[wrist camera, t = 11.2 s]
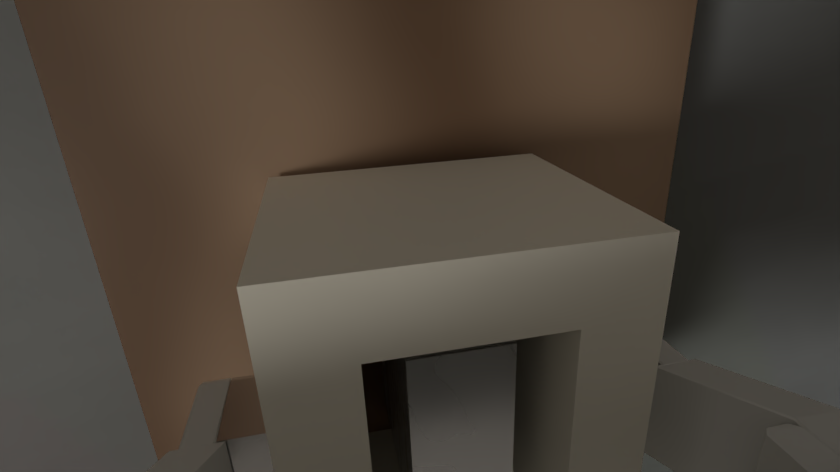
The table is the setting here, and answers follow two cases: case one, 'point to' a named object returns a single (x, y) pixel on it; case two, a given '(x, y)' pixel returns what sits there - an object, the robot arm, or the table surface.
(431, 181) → the open rectangular brace
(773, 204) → the table surface
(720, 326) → the table surface
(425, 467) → the tall grey block
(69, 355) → the table surface
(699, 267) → the table surface
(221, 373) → the board
